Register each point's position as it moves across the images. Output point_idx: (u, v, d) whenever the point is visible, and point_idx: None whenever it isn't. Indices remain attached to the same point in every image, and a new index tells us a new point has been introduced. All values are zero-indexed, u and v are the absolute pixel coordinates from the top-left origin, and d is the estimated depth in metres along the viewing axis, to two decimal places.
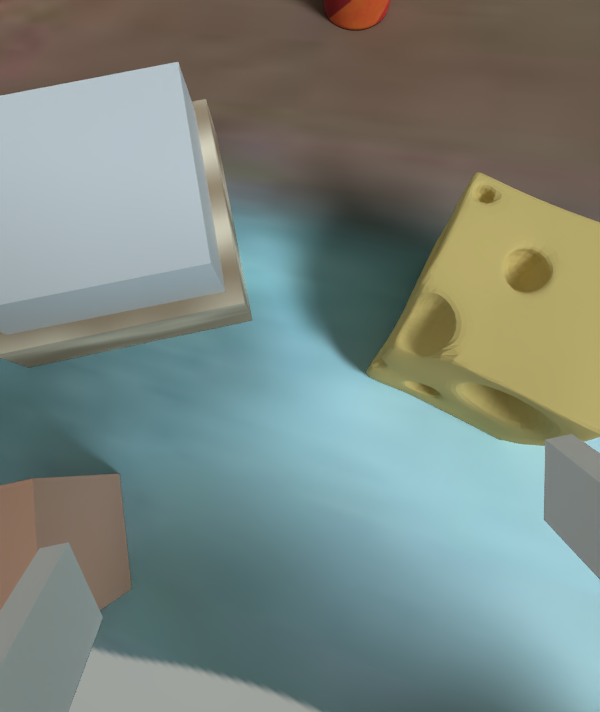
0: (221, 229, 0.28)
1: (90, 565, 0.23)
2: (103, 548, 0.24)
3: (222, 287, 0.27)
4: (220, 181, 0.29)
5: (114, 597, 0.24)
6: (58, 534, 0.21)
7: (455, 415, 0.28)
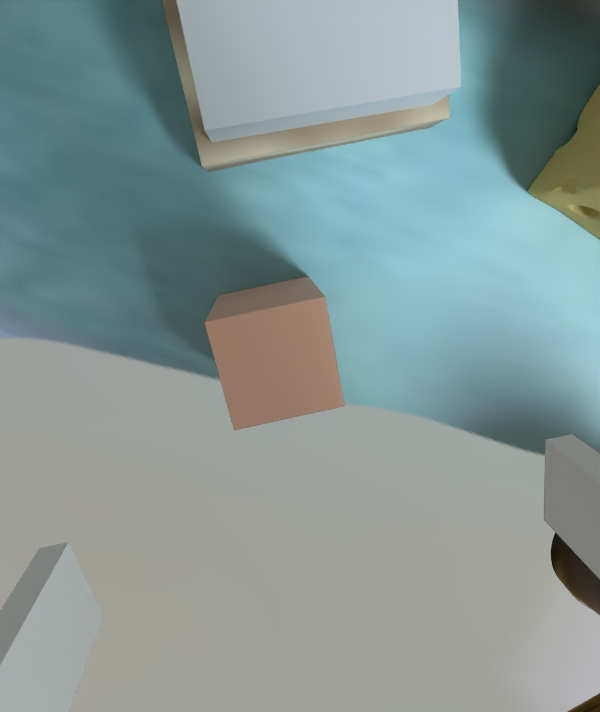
0: None
1: None
2: None
3: (435, 102, 0.26)
4: None
5: None
6: None
7: (591, 231, 0.33)
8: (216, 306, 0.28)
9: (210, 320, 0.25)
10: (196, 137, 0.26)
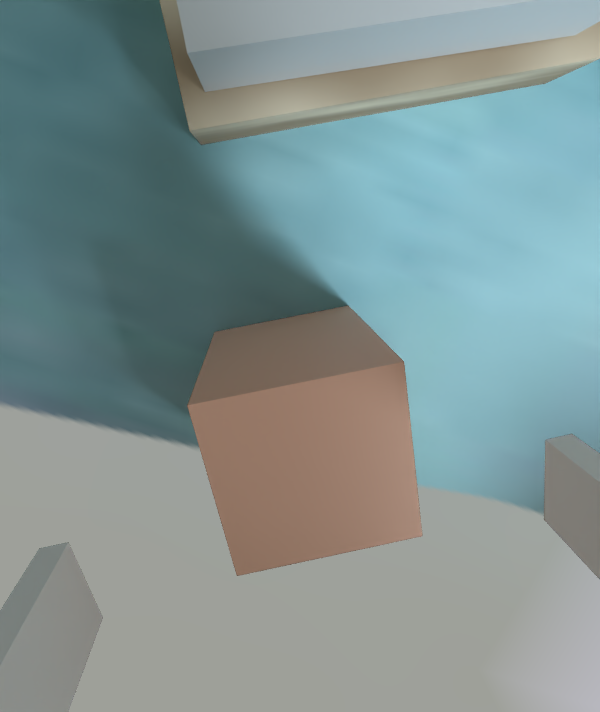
0: None
1: None
2: None
3: (585, 28, 0.16)
4: None
5: None
6: None
7: None
8: (210, 360, 0.18)
9: (198, 401, 0.14)
10: (180, 80, 0.16)
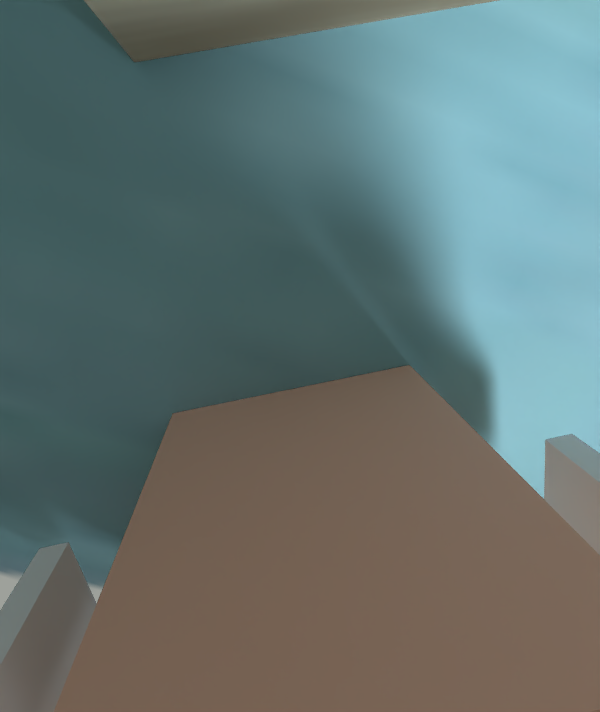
0: None
1: None
2: None
3: None
4: None
5: None
6: None
7: None
8: (142, 525, 0.08)
9: None
10: None
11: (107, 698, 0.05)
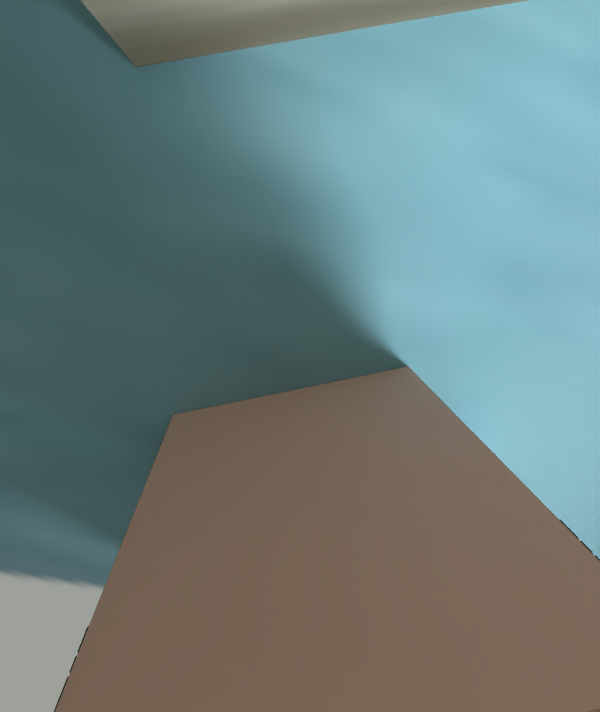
0: None
1: None
2: None
3: None
4: None
5: None
6: None
7: None
8: (142, 527, 0.08)
9: None
10: None
11: (108, 698, 0.05)
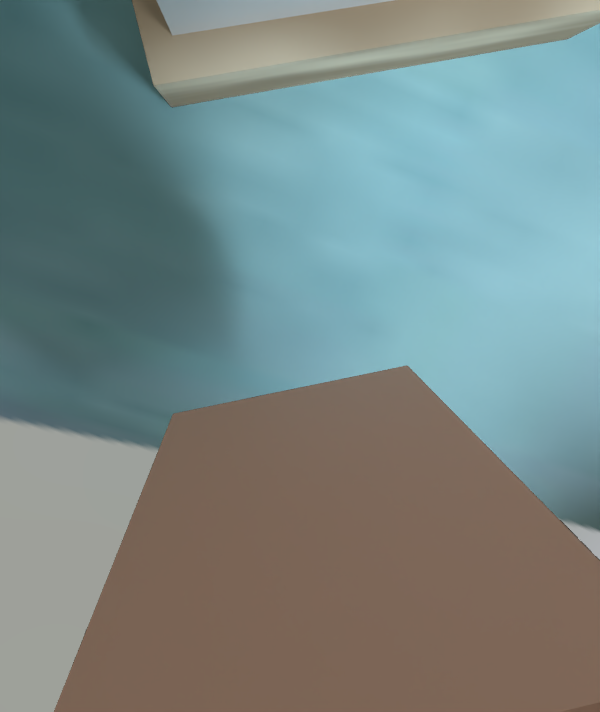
0: None
1: None
2: None
3: None
4: None
5: None
6: None
7: None
8: (142, 525, 0.08)
9: None
10: (140, 21, 0.13)
11: (108, 694, 0.05)
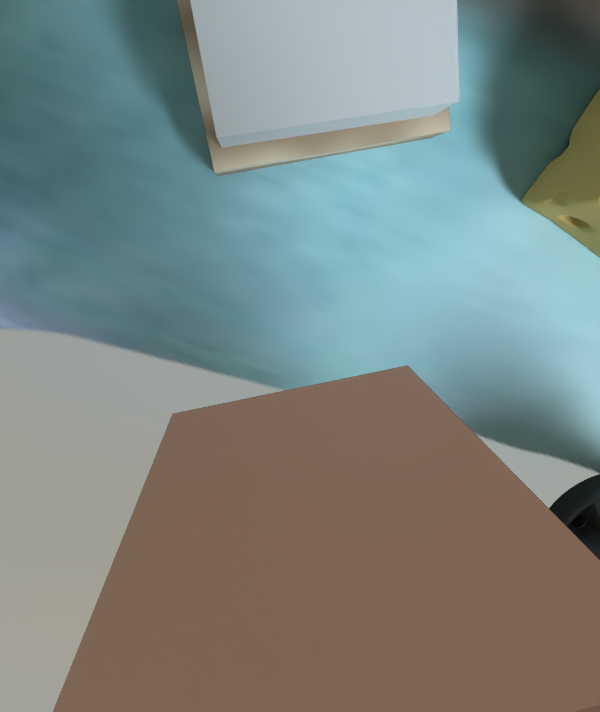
0: None
1: None
2: None
3: (435, 113, 0.28)
4: None
5: None
6: None
7: (580, 240, 0.35)
8: (141, 525, 0.08)
9: None
10: (209, 144, 0.28)
11: (106, 696, 0.05)
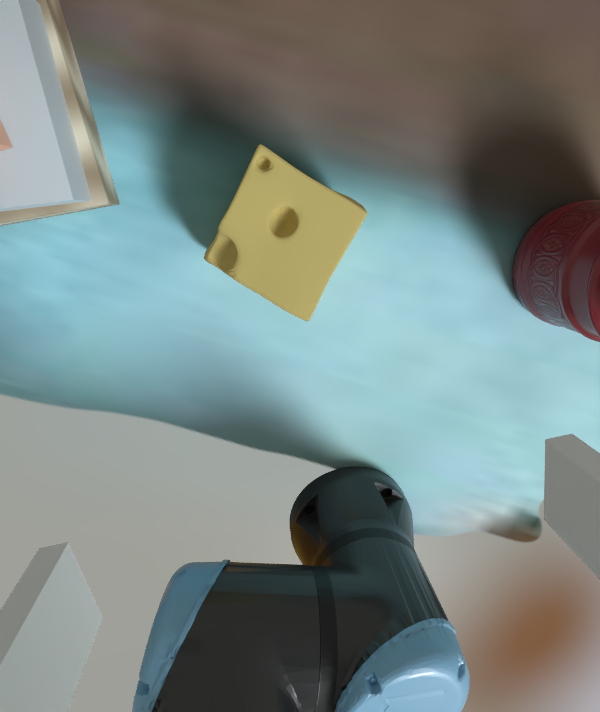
0: (80, 136, 0.35)
1: None
2: None
3: (88, 200, 0.36)
4: (71, 85, 0.34)
5: None
6: None
7: None
8: None
9: None
10: None
11: None
